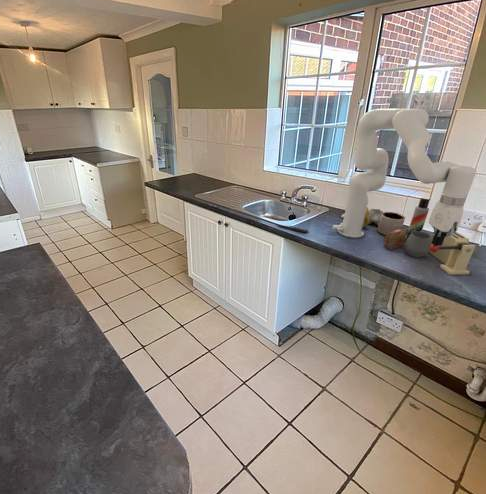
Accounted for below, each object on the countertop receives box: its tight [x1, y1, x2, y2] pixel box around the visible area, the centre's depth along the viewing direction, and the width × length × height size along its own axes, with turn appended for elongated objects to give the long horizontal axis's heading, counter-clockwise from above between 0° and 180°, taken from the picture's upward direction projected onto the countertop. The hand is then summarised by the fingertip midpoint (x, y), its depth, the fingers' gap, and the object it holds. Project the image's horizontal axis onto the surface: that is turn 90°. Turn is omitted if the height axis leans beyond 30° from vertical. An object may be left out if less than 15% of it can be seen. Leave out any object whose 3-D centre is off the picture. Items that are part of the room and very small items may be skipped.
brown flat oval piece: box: [383, 228, 409, 251], centre depth 145 cm, size 15×3×8 cm, turn 117°
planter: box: [377, 211, 406, 236], centre depth 159 cm, size 11×11×10 cm
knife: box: [276, 225, 308, 234], centre depth 165 cm, size 17×1×3 cm
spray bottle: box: [407, 197, 431, 237], centre depth 153 cm, size 6×6×20 cm
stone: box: [362, 206, 370, 228], centre depth 165 cm, size 13×10×10 cm
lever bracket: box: [439, 240, 477, 275], centre depth 124 cm, size 8×6×13 cm
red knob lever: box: [429, 243, 469, 252], centre depth 122 cm, size 15×3×3 cm, turn 91°
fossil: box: [368, 208, 384, 226], centre depth 174 cm, size 18×11×15 cm
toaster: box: [427, 231, 470, 265], centre depth 134 cm, size 6×12×12 cm, turn 1°
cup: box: [404, 231, 432, 258], centre depth 137 cm, size 10×9×10 cm
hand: (436, 244), depth 121 cm, fingers closed
